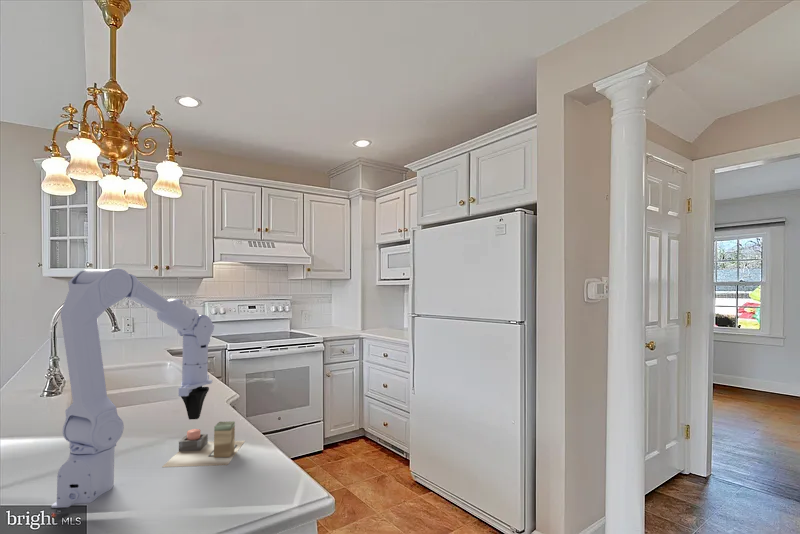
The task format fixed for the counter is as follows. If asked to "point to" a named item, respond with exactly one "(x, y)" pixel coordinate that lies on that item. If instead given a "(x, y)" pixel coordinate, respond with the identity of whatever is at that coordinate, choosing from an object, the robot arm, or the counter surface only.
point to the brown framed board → (199, 453)
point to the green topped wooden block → (224, 439)
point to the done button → (193, 434)
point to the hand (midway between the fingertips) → (194, 418)
